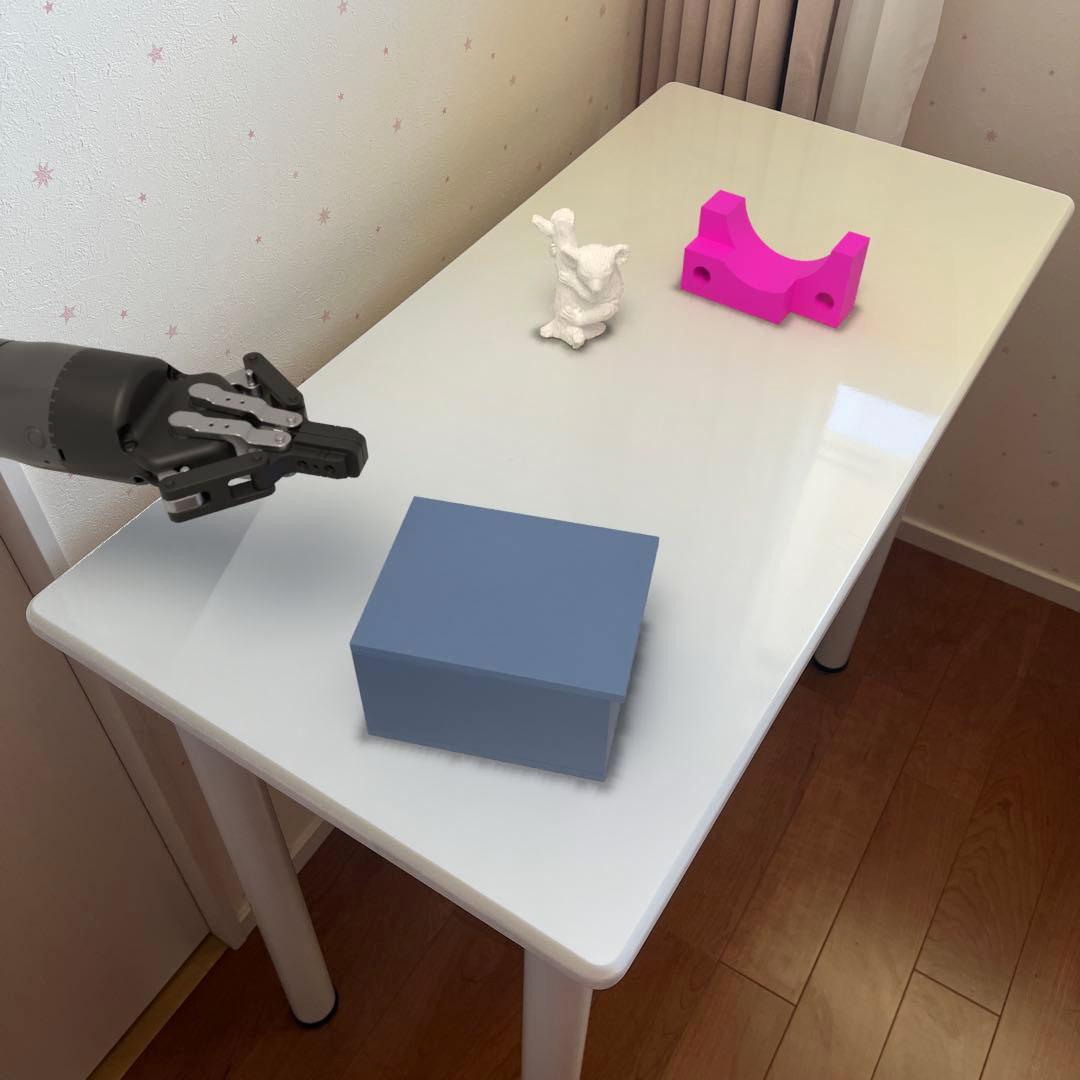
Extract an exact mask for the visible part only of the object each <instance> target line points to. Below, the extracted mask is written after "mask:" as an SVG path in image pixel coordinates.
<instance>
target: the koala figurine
mask: <svg viewBox="0 0 1080 1080" xmlns="http://www.w3.org/2000/svg"><path fill="white" fill-rule="evenodd" d="M575 217H576V216H575V213H574V211H573V210H571V209H570V208H568V207H562V208H561V209H557V210H555V211H554V212H553V213H552V215H551V217H550V220H548V219H546V218H545V217H543V216H541V215H540V214H534V215H532V217H531V223H532V224H533V225H534V227H535V228H536V229H537V230H538V231H539V232H541V233H543V234H544V235H545V236H546V237H548V238H550V239H551V241H552V242H551V243H550V244H549V247H548V252H549V256H550V257H552V258H554V260H553V261H554V268H555V272H556V277H555V286H554V287H555V297H554V301H553V305H552V308H553V313H554V318H553V319H552V320H551V321H549V322H548V323H547V324H545V325H543V326H542V327H541V328H539V334H540V336H541V337H542V338H556V339H560V340H562V341H564V342H565V343H567V344H568V345H570V346H571V347H572V349H574V350H577V349H579V348H581V347H582V346H584V344H585V341H586V340H588V341H589V340H591V339H594V338H596V337H599V336H600V335H602V334H603V333H604V332H605V331H606V329H607V326H606V324H605V323H604V322H602V321H607V320H609V319H611V318H612V317H613V316H614V315H615V314H616V313H617V311H618V310H619V308H620V306H621V303H622V299H623V294H624V281H623V277H622V274H621V270H620V268H619V267H621V266H624V265H625V264H626V263H627V262H628V260H629V258H630V255H631V248H630V246H629V245H628V244H622V243H617V244H615V245H610V246H606V245H604V244H602V243H597V242H595V243H589V244H587V245H586V244H584V245H582V246H581V247H578V246H579V245H578V244H579V243H578V241H577V236H576V234H577V233H576V232H577V231H576V221H575V220H576V219H575Z"/></svg>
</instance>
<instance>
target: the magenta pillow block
mask: <svg viewBox="0 0 1080 1080" xmlns="http://www.w3.org/2000/svg"><path fill="white" fill-rule="evenodd" d="M870 242H871V237H869V236H866V235H864V234H860V233H857V232H854V231H851V230H848V231H847V232H846V234H845V235H844V236H843V237H842V238H841V239H840V240H839V241H838V243H837V244H836V245H835V246H833V248H832V249H831V250H830V253H829V254H828V255H826V256H824V257H821V258H818V259H811V260H801V259H800V260H799V259H795V258H790V257H787V256H785V255H782V254H780V253H778V252H777V251H775V250H774V249H772V248H771V247H769V245H767V244H766V243H765V241H764V240H762V238H761V237H760V236H759V234H758V233H757V231H756V230H755V228H754V226H753V224H752V223H751V220H750V217H749V214H748V210H747V201H746V197H745V196H741V195H738V194H735V193H733V192H730V191H726V190H723V189H719V190H717V191H716V193H715V194H713V195H712V196H711V197H710V198H709V199H708V200H707V201H706V202H705V203H704V204H703V205H701V206H700V211H699V222H698V230H697V236H696V237H694V239H692V240H691V241H690V242H689V243H688V244H687V245H686V246H685V247H684V250H683V251H684V253H683V262H682V268H681V269H682V271H681V279H680V290H682V291H685V292H688V293H689V294H692V295H695V296H698V297H701V298H704V299H706V300H709V301H712V302H715V303H717V304H721V305H723V306H726V307H728V308H731V309H734V310H736V311H740V312H741V313H745V314H748V315H750V316H752V317H753V316H754V317H756V318H759V319H761V320H764V321H767V322H770V323H773V324H775V325H778V326H780V324H781V323H782V322H783V321H784V319H786V318H787V316H788V315H789V314H790V313H793V314H796V315H798V316H801V317H805V318H807V319H810V320H813V321H816V322H817V323H821V324H823V325H827V326H829V327H832V328H834V329H838V328H839V326H840V325H841V324H842V323H843V321H844V320H846V318H847V317H848V315H849V314H850V313H851V312H852V310H854V308H855V304H856V303H855V302H856V299H857V298H856V297H857V296H858V290H859V286H860V283H861V279H862V274H863V270H864V265H865V261H866V258H867V254H868V249H869V245H870Z"/></svg>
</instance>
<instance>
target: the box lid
mask: <svg viewBox="0 0 1080 1080" xmlns="http://www.w3.org/2000/svg"><path fill="white" fill-rule="evenodd" d="M659 546H660V536H657V535H651V534H646V533H639V532H633V531H627V530H621V529H617V528H616V529H615V528H611V527H603V526H598V525H597V526H596V525H593V524H592V525H591V524H584V523H579V522H573V521H567V520H561V519H555V518H550V517H549V518H548V517H543V516H537V515H531V514H524V513H519V512H514V511H506V510H500V509H495V508H489V507H482V506H477V505H472V504H466V503H458V502H453V501H448V500H447V501H446V500H440V499H435V498H429V497H423V496H417V495H414V496H413V497H412V500H411V502H410V504H409V506H408V509H407V511H406V514H405V516H404V518H403V520H402V523H401V525H400V527H399V530H398V531H397V533H396V535H395V538H394V540H393V543H392V545H391V548H390V550H389V551H388V555H387V557H386V559H385V561H384V563H383V566H382V568H381V570H380V572H379V575H378V577H377V579H376V581H375V584H374V586H373V589H372V591H371V593H370V595H369V597H368V600H367V602H366V604H365V606H364V609H363V611H362V614H361V616H360V618H359V620H358V622H357V625H356V627H355V630H354V631H353V634H352V636H351V638H350V641H349V643H348V644H349V649H350V651H353V652H358V653H363V654H369V655H374V656H379V657H384V658H390V659H395V660H400V661H405V662H411V663H416V664H421V665H426V666H432V667H437V668H442V669H447V670H453V671H458V672H463V673H468V674H473V675H479V676H484V677H489V678H494V679H500V680H505V681H510V682H515V683H521V684H526V685H531V686H536V687H542V688H547V689H552V690H557V691H563V692H568V693H573V694H578V695H584V696H589V697H594V698H599V699H605V700H610V701H615V702H620V703H621V704H624V703H626V697H627V694H628V689H629V683H630V680H631V674H632V669H633V665H634V661H635V656H636V653H637V652H636V651H637V647H638V643H639V638H640V633H641V628H642V624H643V618H644V614H645V610H646V605H647V601H648V596H649V591H650V587H651V582H652V577H653V573H654V567H655V564H656V559H657V554H658V549H659Z"/></svg>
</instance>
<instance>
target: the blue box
mask: <svg viewBox="0 0 1080 1080" xmlns="http://www.w3.org/2000/svg"><path fill="white" fill-rule="evenodd" d="M350 651H351V650H350ZM350 653H351V657H352V662H353V666H354V672H355V677H356V682H357V686H358V691H359V695H360V700H361V705H362V710H363V714H364V715H363V716H364V720H365V725H366V729H367V734H368V735H371V736H377V737H381V738H386V739H391V740H397V741H401V742H406V743H411V744H416V745H421V746H426V747H430V748H435V749H440V750H446V751H450V752H454V753H455V752H456V753H460V754H466V755H470V756H476V757H481V758H486V759H491V760H495V761H500V762H506V763H510V764H515V765H521V766H524V767H529V768H535V769H541V770H545V771H550V772H554V773H555V772H556V773H560V774H565V775H570V776H575V777H579V778H584V779H590V780H595V781H599V782H605V780H606V775H607V771H608V766H609V762H610V757H611V753H612V749H613V748H612V747H613V744H614V738H615V734H616V729H617V726H618V720H619V716H620V712H621V707H622V703H620V702H615V701H610V700H605V699H599V698H594V697H589V696H584V695H578V694H573V693H568V692H563V691H557V690H552V689H547V688H542V687H536V686H531V685H526V684H521V683H515V682H510V681H505V680H500V679H494V678H489V677H484V676H479V675H473V674H468V673H463V672H458V671H453V670H447V669H442V668H437V667H432V666H426V665H421V664H416V663H411V662H405V661H400V660H395V659H390V658H384V657H379V656H374V655H369V654H363V653H358V652H353V651H351V652H350Z"/></svg>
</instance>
